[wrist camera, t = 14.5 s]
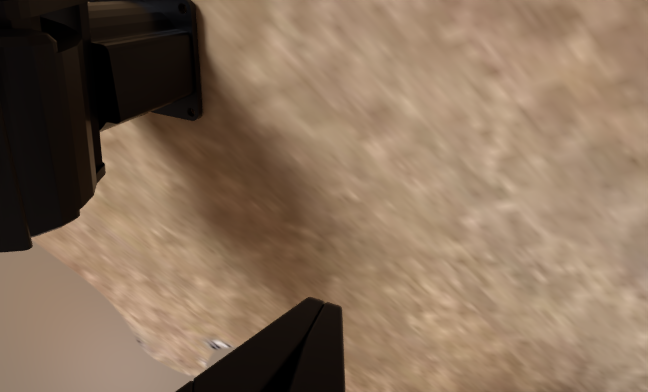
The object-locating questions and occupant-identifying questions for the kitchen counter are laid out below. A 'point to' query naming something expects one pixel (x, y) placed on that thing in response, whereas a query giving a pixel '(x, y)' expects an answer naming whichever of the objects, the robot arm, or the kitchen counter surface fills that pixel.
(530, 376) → the kitchen counter surface
